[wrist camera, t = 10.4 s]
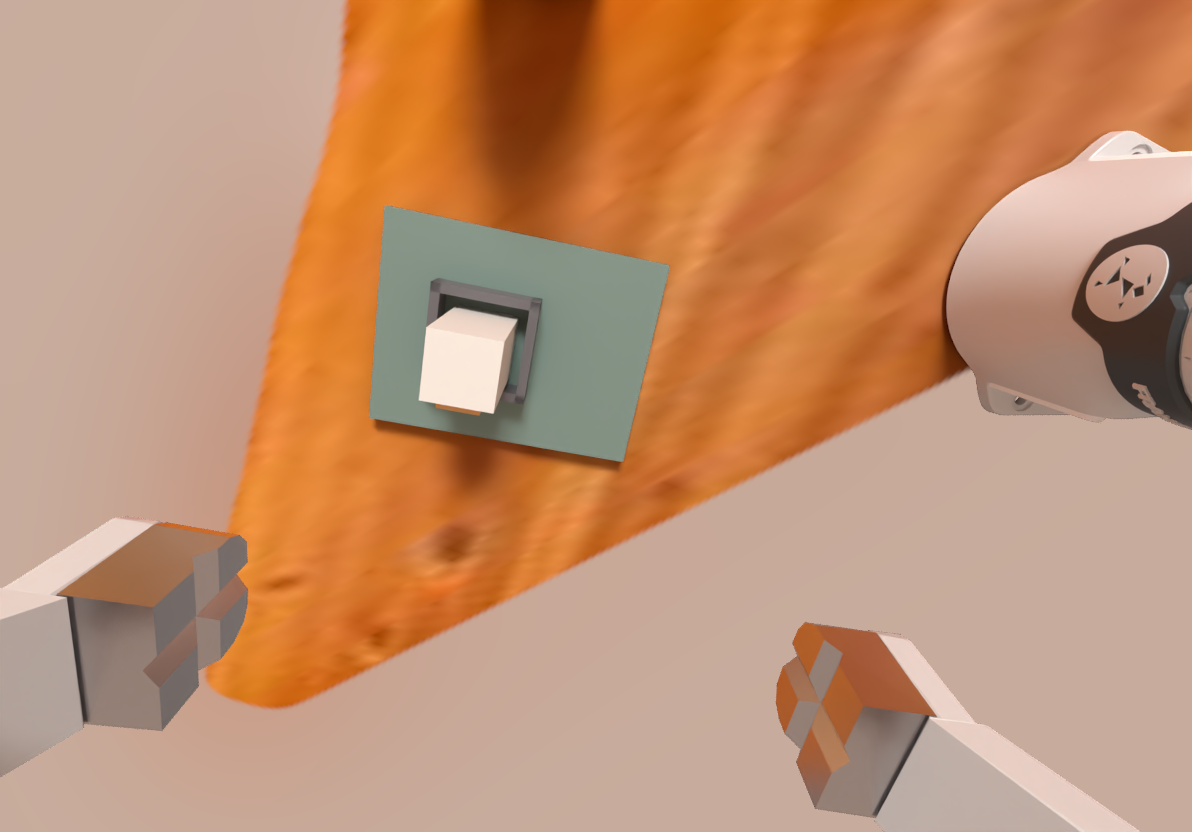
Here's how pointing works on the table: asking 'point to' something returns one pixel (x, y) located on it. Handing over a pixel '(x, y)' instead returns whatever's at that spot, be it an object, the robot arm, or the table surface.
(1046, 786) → the robot arm
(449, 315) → the plug
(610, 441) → the board
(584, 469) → the table surface
